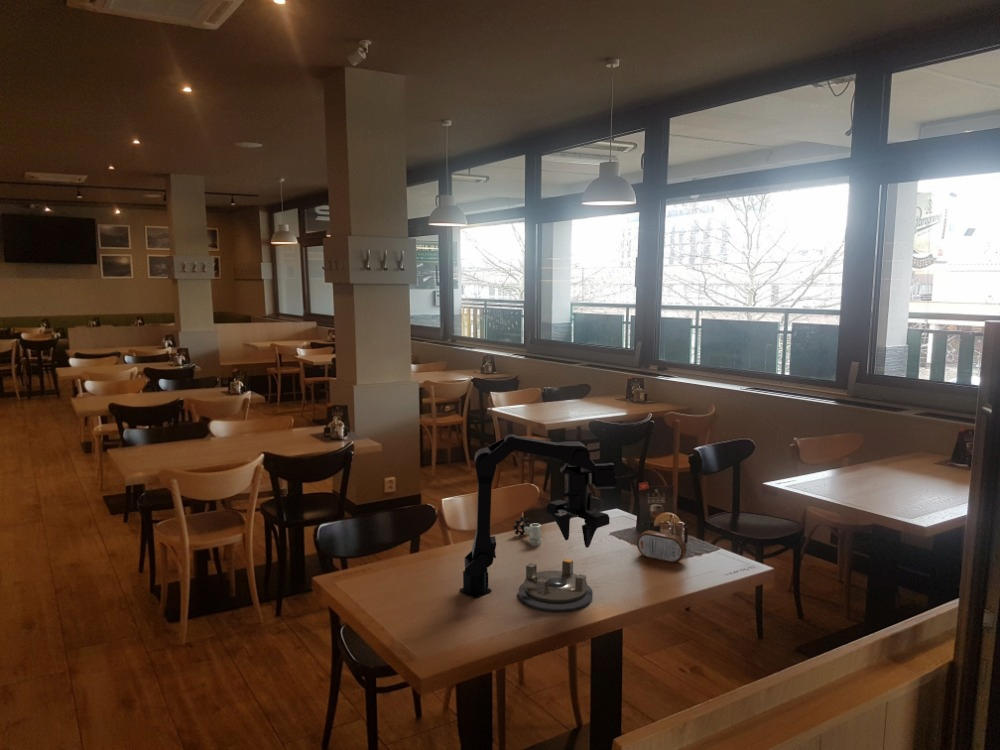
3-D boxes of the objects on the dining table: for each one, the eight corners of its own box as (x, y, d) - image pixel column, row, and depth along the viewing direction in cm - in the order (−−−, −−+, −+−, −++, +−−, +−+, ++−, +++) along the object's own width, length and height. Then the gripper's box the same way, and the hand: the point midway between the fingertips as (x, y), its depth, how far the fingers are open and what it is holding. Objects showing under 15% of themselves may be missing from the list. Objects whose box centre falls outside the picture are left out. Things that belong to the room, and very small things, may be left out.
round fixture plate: (570, 609, 177) (570, 587, 176) (512, 594, 186) (512, 573, 185) (596, 585, 191) (597, 565, 191) (542, 572, 200) (542, 553, 200)
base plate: (558, 619, 175) (558, 611, 175) (503, 595, 189) (503, 587, 189) (607, 596, 188) (607, 588, 188) (552, 574, 203) (552, 567, 203)
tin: (686, 562, 212) (686, 536, 211) (682, 566, 209) (683, 539, 208) (639, 553, 220) (639, 527, 219) (635, 556, 217) (636, 530, 216)
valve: (547, 544, 228) (529, 533, 238) (547, 525, 227) (529, 515, 238) (529, 548, 225) (512, 536, 235) (529, 528, 224) (512, 517, 235)
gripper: (623, 490, 188) (622, 545, 190) (572, 476, 202) (572, 528, 204) (595, 498, 181) (595, 555, 183) (545, 483, 195) (545, 537, 197)
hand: (576, 543), depth 192 cm, fingers open, 7 cm apart
